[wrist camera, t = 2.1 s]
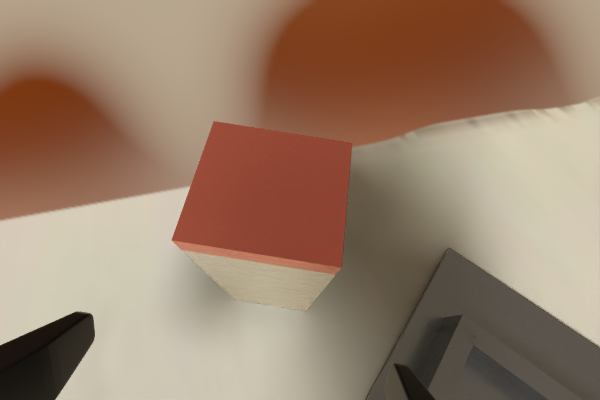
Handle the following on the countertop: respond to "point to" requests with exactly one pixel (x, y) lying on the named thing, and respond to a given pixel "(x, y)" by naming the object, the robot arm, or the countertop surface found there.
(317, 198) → the block
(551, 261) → the countertop surface
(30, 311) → the countertop surface
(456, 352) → the plate
